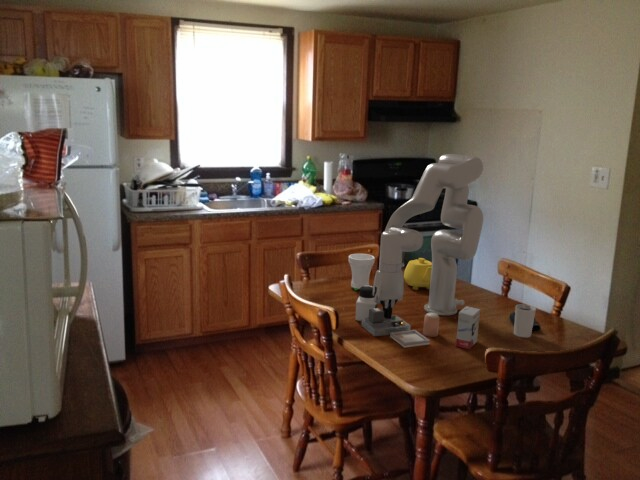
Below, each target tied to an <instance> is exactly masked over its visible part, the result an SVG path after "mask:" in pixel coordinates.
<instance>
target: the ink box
mask: <svg viewBox="0 0 640 480" xmlns="http://www.w3.org/2000/svg"><path fill="white" fill-rule="evenodd" d="M480 313H481V308H476V307H471V306H468V305H467V306H464V308H462V309H461V310H460V311H458V319H457V328H456V329H457V330H456V338H455V347H458V348H461V349H466V350H471V349H472V347H473V346H474V345H475V344H476V343H477V342H478V333H479V323H480V315H481V314H480Z"/></svg>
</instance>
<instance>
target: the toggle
mask: <svg viewBox="0 0 640 480" xmlns="http://www.w3.org/2000/svg"><path fill="white" fill-rule="evenodd" d="M369 320H371V321H372V322H373V323H379V322H384V311H383V308H382V309H381V308H380V307H377V308H373V309H369Z"/></svg>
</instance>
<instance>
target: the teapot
mask: <svg viewBox="0 0 640 480" xmlns="http://www.w3.org/2000/svg"><path fill="white" fill-rule="evenodd" d="M431 270H432V261H429V260H427V259H426V258H423V257H418V259H414V260H413V259H412V260H409V261H408V263H407V265H406V267H405V268H404V271H403V279H404V282H405V283H406V284H407V285H408V286H411V287H412V290H415V291H417V290H419V288H425V290H429V291H430V282H431Z"/></svg>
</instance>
